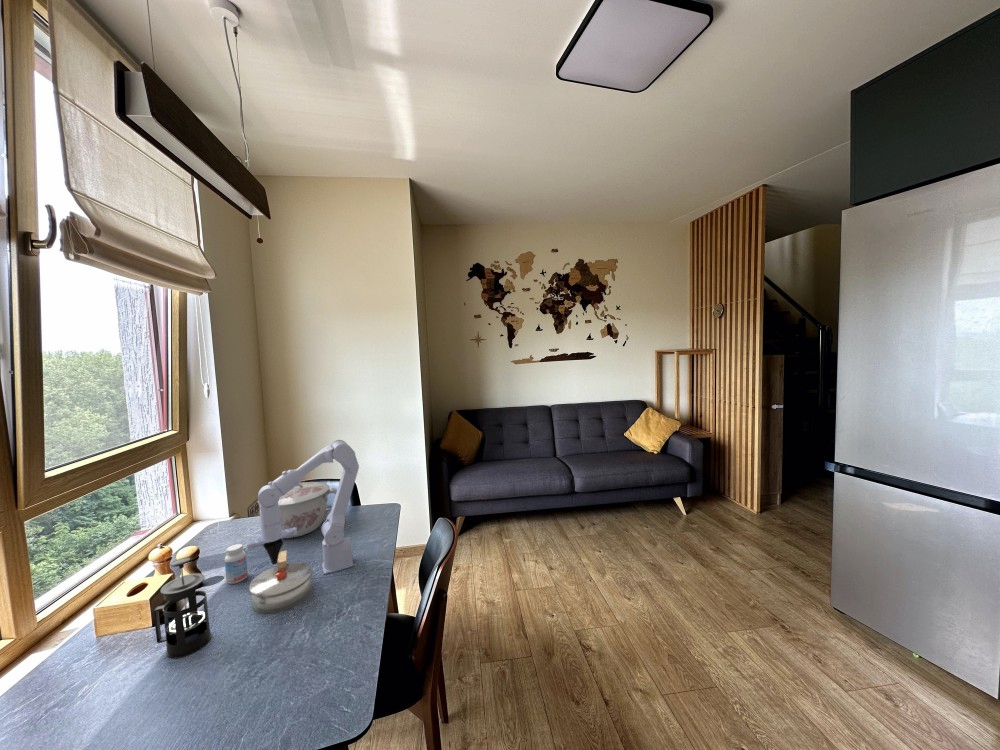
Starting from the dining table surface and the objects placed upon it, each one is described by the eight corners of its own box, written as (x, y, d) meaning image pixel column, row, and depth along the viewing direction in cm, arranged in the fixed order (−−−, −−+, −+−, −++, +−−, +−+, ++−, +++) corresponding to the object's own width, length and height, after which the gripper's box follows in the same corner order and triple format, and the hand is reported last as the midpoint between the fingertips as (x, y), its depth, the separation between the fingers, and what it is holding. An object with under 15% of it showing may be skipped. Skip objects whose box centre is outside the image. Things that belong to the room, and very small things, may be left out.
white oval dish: (309, 567, 138) (308, 553, 138) (312, 601, 119) (311, 585, 118) (256, 581, 131) (255, 567, 131) (250, 621, 111) (249, 604, 111)
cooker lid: (312, 585, 118) (312, 575, 118) (246, 604, 110) (245, 594, 110) (310, 552, 138) (310, 544, 138) (254, 567, 130) (253, 558, 130)
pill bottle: (237, 585, 129) (234, 552, 129) (222, 583, 131) (218, 551, 130) (252, 574, 135) (249, 543, 135) (237, 573, 137) (234, 542, 136)
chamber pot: (245, 541, 161) (240, 492, 160) (302, 514, 186) (298, 471, 185) (294, 551, 150) (289, 499, 149) (347, 521, 176) (343, 476, 174)
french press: (219, 627, 109) (211, 547, 108) (207, 650, 100) (198, 564, 99) (167, 639, 105) (158, 557, 104) (150, 665, 96) (140, 575, 95)
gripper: (290, 512, 135) (293, 550, 136) (241, 527, 125) (245, 568, 126) (297, 517, 131) (301, 557, 131) (247, 533, 120) (251, 576, 121)
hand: (274, 562), depth 128 cm, fingers closed
